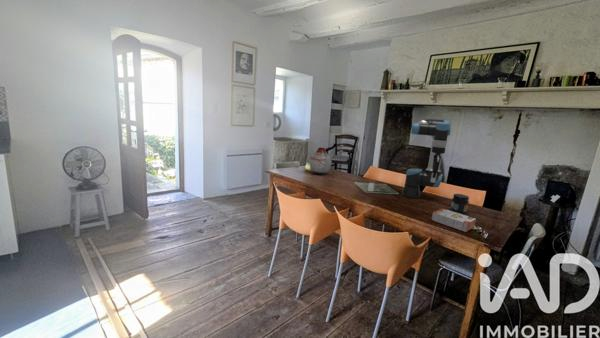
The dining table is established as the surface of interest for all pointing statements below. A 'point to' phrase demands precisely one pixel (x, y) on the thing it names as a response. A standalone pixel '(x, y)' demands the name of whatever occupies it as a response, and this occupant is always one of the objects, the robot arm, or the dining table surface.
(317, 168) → the vase
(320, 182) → the dining table surface
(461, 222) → the cracker box
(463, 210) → the supplement container
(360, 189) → the dining table surface
